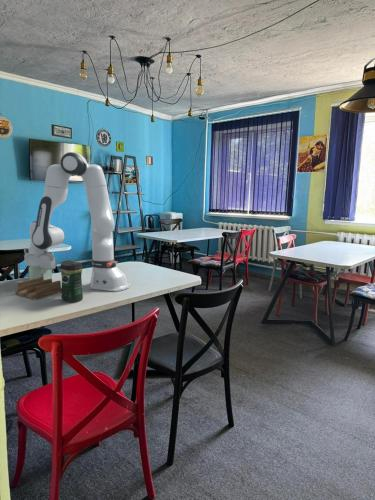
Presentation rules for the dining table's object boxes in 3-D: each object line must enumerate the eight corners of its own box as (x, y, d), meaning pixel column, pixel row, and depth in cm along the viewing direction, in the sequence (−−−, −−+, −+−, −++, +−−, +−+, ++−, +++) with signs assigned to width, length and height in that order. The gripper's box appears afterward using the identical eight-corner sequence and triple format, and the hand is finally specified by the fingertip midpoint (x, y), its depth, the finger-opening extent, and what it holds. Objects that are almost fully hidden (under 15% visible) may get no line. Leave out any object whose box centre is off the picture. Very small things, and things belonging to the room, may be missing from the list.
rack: (63, 291, 174) (63, 280, 173) (36, 299, 160) (35, 288, 159) (43, 286, 181) (42, 276, 180) (15, 294, 167) (14, 283, 166)
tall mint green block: (51, 280, 192) (51, 263, 190) (33, 285, 181) (32, 267, 180) (48, 280, 193) (47, 262, 192) (29, 285, 183) (28, 266, 181)
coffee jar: (86, 299, 163) (85, 261, 159) (72, 304, 156) (71, 263, 153) (72, 295, 168) (71, 258, 164) (58, 299, 161) (57, 260, 158)
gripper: (58, 251, 182) (58, 277, 185) (32, 247, 192) (33, 271, 194) (48, 253, 177) (49, 279, 179) (21, 249, 186) (23, 274, 188)
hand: (40, 275), depth 187 cm, fingers open, 3 cm apart
